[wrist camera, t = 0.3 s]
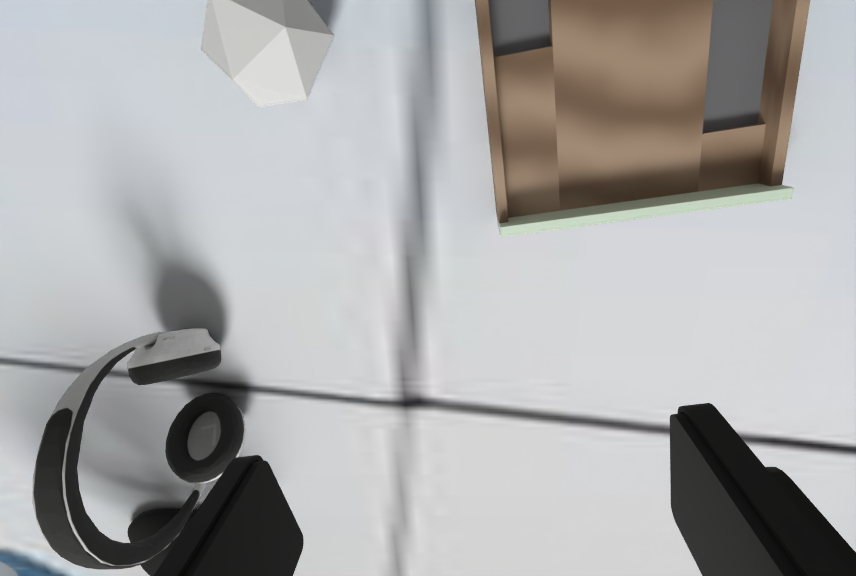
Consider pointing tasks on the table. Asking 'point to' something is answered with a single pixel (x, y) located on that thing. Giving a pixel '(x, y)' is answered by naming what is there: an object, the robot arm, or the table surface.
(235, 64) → the die
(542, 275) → the table surface
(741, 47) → the trap pits
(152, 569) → the desk fan
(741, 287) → the table surface
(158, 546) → the headphones
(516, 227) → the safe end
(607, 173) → the box
